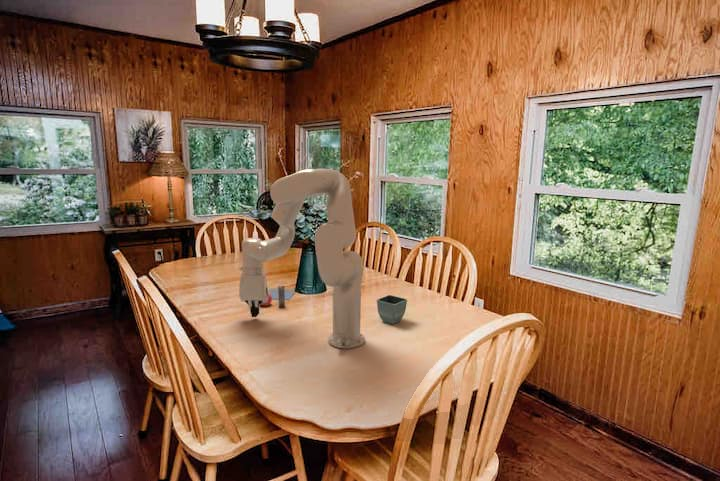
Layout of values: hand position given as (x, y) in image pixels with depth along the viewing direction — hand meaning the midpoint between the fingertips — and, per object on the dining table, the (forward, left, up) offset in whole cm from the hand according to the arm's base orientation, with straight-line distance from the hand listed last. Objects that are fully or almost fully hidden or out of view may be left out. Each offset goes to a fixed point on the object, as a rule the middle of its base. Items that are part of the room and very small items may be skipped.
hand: (255, 315), depth 161 cm
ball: (+16, +1, +1) cm, 16 cm away
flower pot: (+5, -53, -2) cm, 53 cm away
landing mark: (+31, 0, -2) cm, 31 cm away
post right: (+15, -6, -2) cm, 16 cm away
